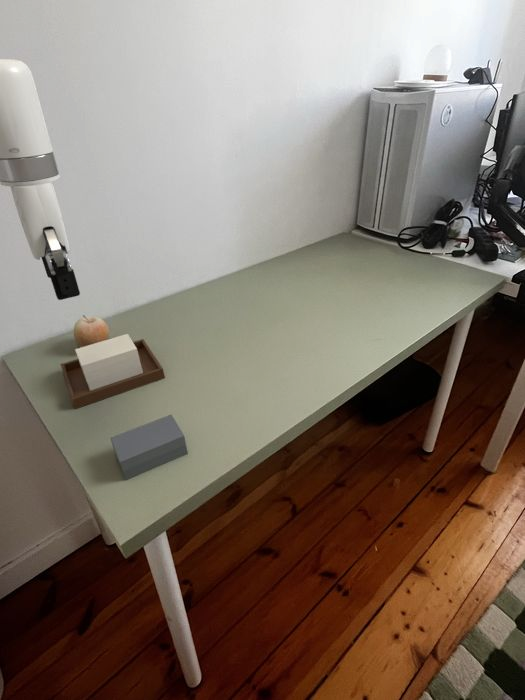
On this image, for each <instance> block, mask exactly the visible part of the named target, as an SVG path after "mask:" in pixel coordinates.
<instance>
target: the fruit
mask: <svg viewBox="0 0 525 700" xmlns="http://www.w3.org/2000/svg"><path fill="white" fill-rule="evenodd" d="M109 337H110V330H109V326H108V324H107V323H106V321H104V319H102V318H100V317H98V316H97V317H96V316H85V314H83V315H82V317H81V318H79V319H78V320H77V321H76V322H75V324H74V326H73V338H74V341H75V343H76V344H77V346H78V347H79V348H81V347H85V346H88V345H91V344H95V343H98V342H102V341H105V340H108V339H110V338H109Z"/></svg>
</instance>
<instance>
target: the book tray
mask: <svg viewBox="0 0 525 700" xmlns="http://www.w3.org/2000/svg"><path fill="white" fill-rule="evenodd" d="M132 342H133V343H134V345H135V346H136V348H137V351H138V355H139V359H140V363H141V367H142V371H143V373H142V374H139V375H136V376H133V377H130V378H127V379H124V380H121V381H118V382H115V383H112V384H109V385H106V386H103V387H100V388H97V389H94V390H91V391H90V390H89V387H88V384H87V382H86V379H85V377H84V374H83V371H82V368H81V366H80V363H79V360H78V358H76V359H73V360H69V361H66V362H63V363H60V367H61V370H62V373H63V376H64V379H65V383H66V385H67V389H68V392H69V395H70V398H71V401H72V404H73V407H74V409H75V410H77V409H81V408H84V407H86V406H89V405H92V404H95V403H97V402H100V401H103V400H105V399H108V398H111V397H114V396H117V395H120V394H123V393H126V392H128V391H129V392H130V391H131V390H134V389H138V388H140V387H144V386H146V385H149V384H152V383H154V382H157V381H160V380H164V379H165V378H166V375H165V372H164V368H163V366H162V365H161V363H160V362H159V360H158V358H157V357H156V356H155V354H154V353H153V351H152V350H151V348H150V347H149V345H148V343H147V342H146V341H145V339H144V338H142V339H138V340H135V341H132Z"/></svg>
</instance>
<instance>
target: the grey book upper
mask: <svg viewBox="0 0 525 700" xmlns="http://www.w3.org/2000/svg"><path fill="white" fill-rule="evenodd" d="M110 441H111V444H112V447H114V448H113V451H114V450H115V451H114V453H116V454H115V456H116V455H117V456H116V459H117V458H118V459H117V461H118V460H119V462H118V464H119V463H120V464H119V466H120V465H121V467H120V469H121V468H122V469H121V471H122V470H123V471H124V470H127V469H129V468H131V467H134V466H136V465H139V464H141V463H143V462H146V461H148V460H150V459H153V458H155V457H158V456H160V455H162V454H165V453H167V452H169V451H172V450H174V449H177V448H179V447H181V446H184V445H186V446H187V441H186V437H185V434H184V432H183V431H182V429H181V427H180V426H179V424H178V423H177V421H176V419H175V418H174V416H173V414H168V415H166V416H163V417H160V418H158V419H155V420H152V421H149V422H147V423H145V424H142V425H140V426H137V427H135V428H132V429H129V430H127V431H124V432H121V433H119V434H116V435H114V436H110Z"/></svg>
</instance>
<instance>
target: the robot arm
mask: <svg viewBox="0 0 525 700" xmlns="http://www.w3.org/2000/svg"><path fill="white" fill-rule="evenodd" d="M52 145H53V144H52V141H51V138H50V135H49V131H48V128H47V123H46V120H45V116H44V112H43V108H42V105H41V102H40V97H39V93H38V90H37V86H36V83H35V79H34V76H33V72H32V71H31V69H30V67H29V66H28V65H27V64H26V63H25V62H24V61H21V60H19V59H13V58H0V185H1V186H4V187H10V190H11V195H12V199H13V201H14V204H15V209H16V211H17V214H18V217H19V220H20V223H21V226H22V229H23V231H24V232H23V233H24V235H25V238H26V240H27V243H28V247H29V249H30V253H31V254H32V256H33V258H34V259H35V260H38V261H40V260H42V263H43V267H44V269H45V273H46V276H47V278H48V279H50V281H51V283H52V286H53V291H54V294H55V296H56V299H57V300H58V301H63V300H66V299H70V298H75V297H79V296H80V295H81V292H80V288H79V284H78V282H77V278H76V274H75V270H74V269H73V268H72V266H71V265H72V264H71V263H70V260H69V257H68V254H69V253H70V252H71V248H70V247H71V246H70V243H69V238H68V235H67V230H66V226H65V223H64V219H63V215H62V210H61V207H60V203H59V199H58V196H57V193H56V190H55V186H54V183H53V182H55V181H57V180H59V179H61V175H60V171H59V167H58V164H57V160H56V156H55V152H54V148H53V146H52Z"/></svg>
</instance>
